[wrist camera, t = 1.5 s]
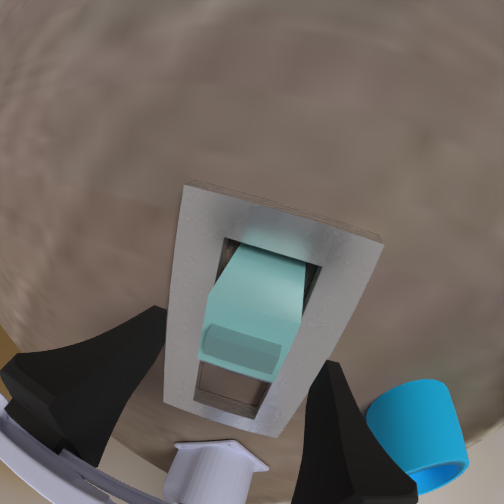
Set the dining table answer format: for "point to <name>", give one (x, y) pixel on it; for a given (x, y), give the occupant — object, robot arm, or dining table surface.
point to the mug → (420, 432)
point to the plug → (253, 313)
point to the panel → (313, 310)
